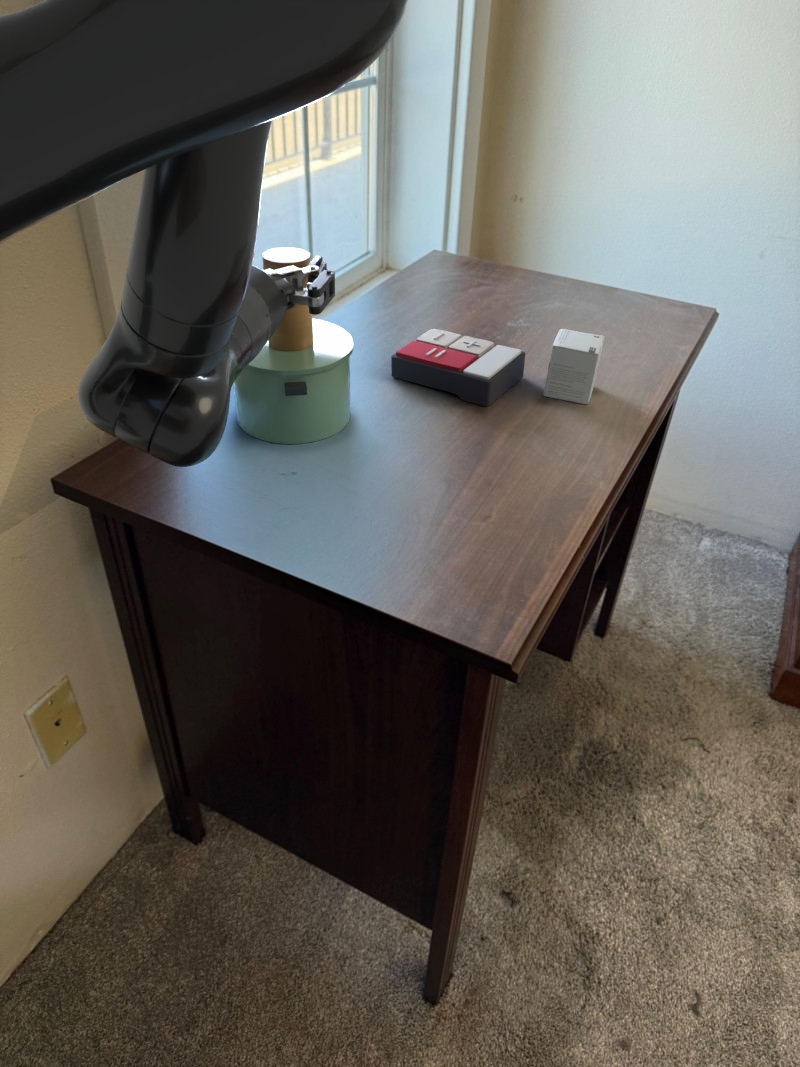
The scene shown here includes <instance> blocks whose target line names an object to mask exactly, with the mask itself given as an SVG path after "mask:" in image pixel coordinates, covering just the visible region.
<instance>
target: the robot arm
mask: <svg viewBox="0 0 800 1067" xmlns="http://www.w3.org/2000/svg"><path fill="white" fill-rule="evenodd" d="M407 4H408V0H43V1H41V2H38V3H35V4H33V5H31V6H29V7H25V8H23V9H20V10H18V11H13V12H10V13H6V14H2V15H0V245H1V244H2V243H4V242H6V241H8V240H9V239H11V238H13V237H15V236H16V235H18V234H20V233H22V232H24V231H26V230H27V229H29V228H31V227H33V226H35V225H37V224H39V223H42V222H43V221H45V220H47V219H49V218H51V217H53V216H55V215H57V214H60V213H61V212H63V211H65V210H68V209H69V208H71V207H73V206H75V205H78V204H80V203H81V202H83V201H86V200H88V199H89V198H91V197H93V196H96V195H97V194H99V193H101V192H103V191H105V190H107V189H108V188H111V187H112V186H114V185H116V184H118V183H120V182H122V181H124V180H126V179H128V178H130V177H133V176H134V175H136V174H138V173H140V172H143V176H142V183H141V189H140V194H139V199H138V205H137V210H136V216H135V222H134V226H133V227H134V228H133V232H132V239H131V244H130V248H129V254H128V260H127V265H126V271H125V277H124V283H123V288H122V294H121V299H120V305H119V309H118V312H117V316H116V318H115V321H114V323H113V326H112V327H111V331H110V332H109V333H108V336H107V337H106V339H105V341H104V342H103V344H102V345H101V347H100V348H99V350H98V351H97V352H96V353H95V355H94V356H93V357H92V359H91V360H90V362H89V363H88V365H87V366H86V367H85V370H84V371H83V374H82V375H81V378H80V380H79V383H78V386H77V400H78V404H79V407H80V409H81V411H82V413H83V415H84V417H85V418H86V420H88V422H90V423H91V425H93V426H94V427H96V428H97V429H98V430H100V431H102V432H104V433H106V434H108V435H110V436H112V437H113V438H117V439H118V440H119V441H122V442H124V443H126V444H128V445H130V446H132V447H134V448H135V449H138V450H140V451H142V452H143V453H145V454H147V455H150V456H151V457H154V458H155V459H157V460H159V461H161V462H163V463H165V464H167V465H170V466H173V467H178V468H188V467H193V466H196V465H198V464H201V463H202V462H204V461H206V460H207V459H208V458H210V457H211V456H212V455H213V454H214V452H215V451H216V450H217V449H218V446H219V444H220V443H221V440H222V438H223V436H224V434H225V430H226V427H227V422H228V418H229V413H230V412H229V411H230V402H231V390H232V388H233V383H234V382H235V380H236V379H237V377H238V376H239V375H240V373H241V372H242V371H243V369H244V368H245V367H246V365H248V364H249V363H250V362H251V361H252V360H254V358H255V357H256V356H257V355H258V354H259V352H260V351H261V350H262V348H263V347H264V345H265V344H266V343H267V341H268V340H269V339H270V337H271V336H272V335H273V333H274V332H275V330H276V329H277V328H278V326H279V325H280V323H281V320H282V318H283V315H284V313H285V311H286V310H289V309H291V308H293V307H294V306H295V304H298V305H306V306H308V308H309V313H310V314H313V315H314V316H317V315H320V314H322V313H323V311H324V310H325V309H326V307H328V305H329V304H330V303H331V301H332V300H333V299H334V298H335V296H336V271H335V270H333V269H329V268H327V267H328V263H327V261H326V260H323V259H324V258H323V256H320V255H314V257H313V258H312V259H311V262H310V263H309V265H308V266H307V267H305V268H301V269H299V268H297V267H294V266H289V267H285V268H282V269H278V270H274V271H273V270H271V269H267V270H264V271H263V269H261V268H260V267H258V266H255V265H253V264H254V258H255V252H256V246H257V240H258V229H259V221H260V220H259V219H260V210H261V200H262V190H263V180H264V170H265V164H266V157H267V149H268V142H269V138H270V133H271V128H272V123H273V120H275V119H278V118H280V117H282V116H285V115H288V114H290V113H292V112H295V111H298V110H300V109H302V108H304V107H306V106H309V105H311V104H314V103H316V102H318V101H320V100H322V99H324V98H325V97H328V96H330V95H331V94H333V93H335V92H337V91H339V90H340V89H341V88H343V87H345V86H346V85H348V84H349V83H351V82H352V81H354V80H355V79H357V78H358V77H359V76H361V75H362V73H364V72H365V71H366V70H368V69H369V67H371V65H372V64H373V63H375V61H376V60H377V59H378V58H379V57H380V56H381V55H382V53H383V52H384V51H385V49H386V48H388V45H389V43H390V42H391V40H392V39H393V38H394V37H395V34H396V32H397V31H398V28H399V25H400V23H401V21H402V19H403V16H404V14H405V12H406V8H407ZM287 277H290V283H289V282H288V281H287V280H286V279H285V278H287ZM305 277H308V283H307V286H306V287H303V279H304V278H305Z"/></svg>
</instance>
